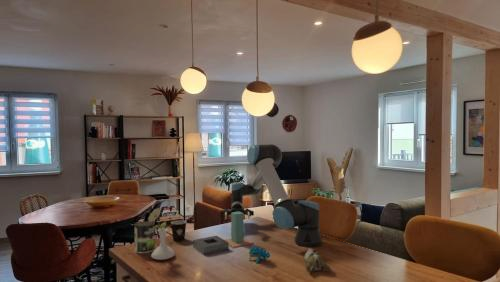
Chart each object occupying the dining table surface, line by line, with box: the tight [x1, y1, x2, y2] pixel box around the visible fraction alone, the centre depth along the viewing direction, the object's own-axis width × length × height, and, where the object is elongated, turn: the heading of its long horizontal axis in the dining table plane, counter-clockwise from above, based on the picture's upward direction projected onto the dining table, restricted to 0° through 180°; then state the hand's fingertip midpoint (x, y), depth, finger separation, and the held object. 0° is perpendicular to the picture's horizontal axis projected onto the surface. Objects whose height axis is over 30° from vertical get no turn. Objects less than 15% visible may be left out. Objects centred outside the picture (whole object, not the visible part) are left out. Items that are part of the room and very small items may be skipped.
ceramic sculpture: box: [303, 247, 332, 273], centre depth 147 cm, size 11×9×15 cm
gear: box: [248, 246, 271, 264], centre depth 157 cm, size 11×6×10 cm
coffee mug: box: [164, 219, 187, 242], centre depth 191 cm, size 12×9×10 cm
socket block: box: [192, 235, 230, 256], centre depth 175 cm, size 14×14×4 cm
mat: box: [224, 237, 254, 249], centre depth 185 cm, size 13×13×1 cm
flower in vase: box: [147, 207, 176, 261], centre depth 162 cm, size 13×11×25 cm
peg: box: [230, 212, 245, 243], centre depth 185 cm, size 5×5×16 cm
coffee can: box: [133, 220, 156, 254], centre depth 173 cm, size 10×10×14 cm
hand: (237, 216), depth 194 cm, fingers open, 13 cm apart
